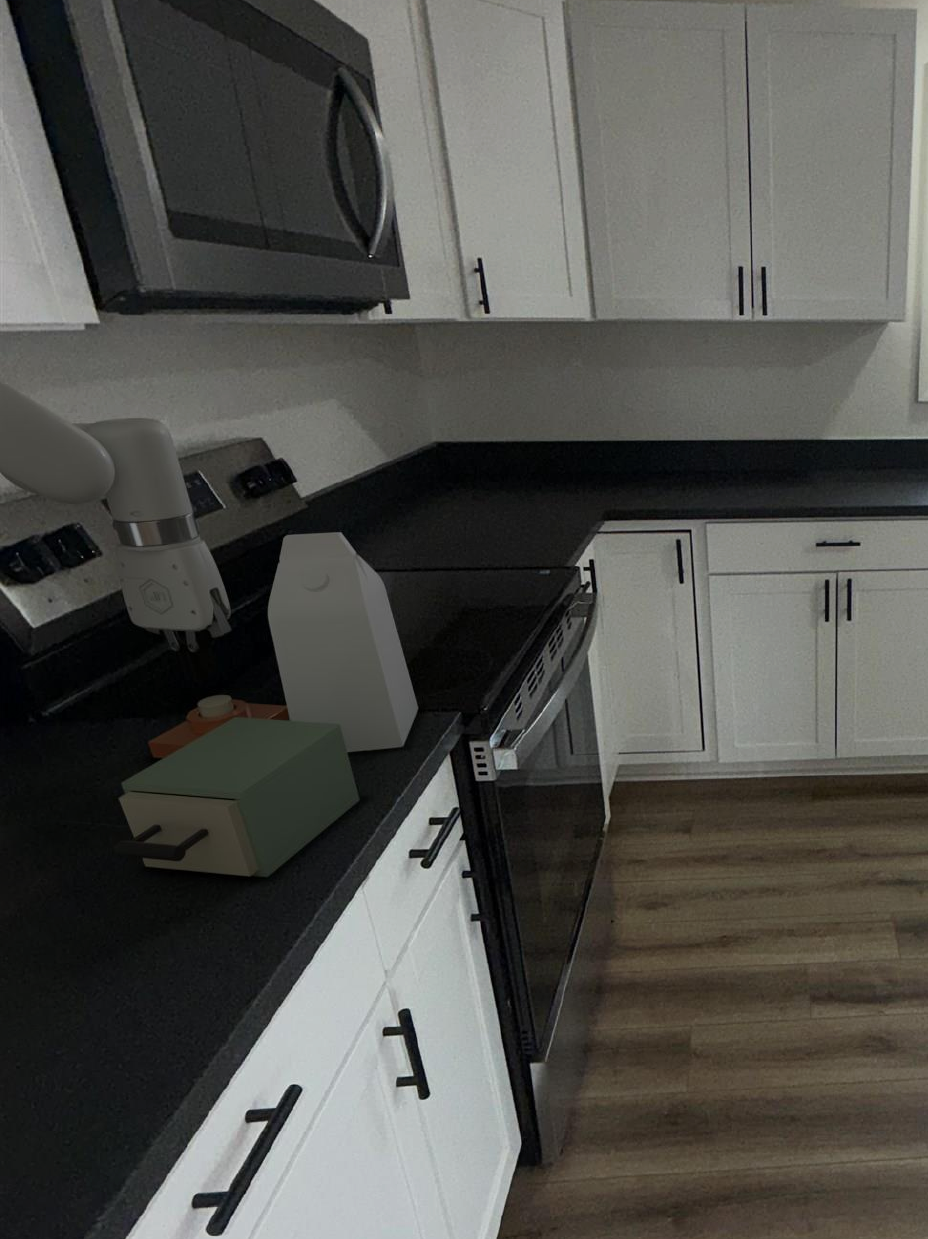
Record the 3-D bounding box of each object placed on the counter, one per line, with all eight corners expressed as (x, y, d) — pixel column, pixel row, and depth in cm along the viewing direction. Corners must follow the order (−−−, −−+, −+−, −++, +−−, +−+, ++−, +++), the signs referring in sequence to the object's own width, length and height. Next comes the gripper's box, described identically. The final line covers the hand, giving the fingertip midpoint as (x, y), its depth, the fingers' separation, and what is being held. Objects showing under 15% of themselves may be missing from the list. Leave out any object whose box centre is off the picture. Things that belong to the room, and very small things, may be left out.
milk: (418, 708, 121) (377, 521, 110) (402, 746, 111) (356, 543, 100) (322, 718, 118) (271, 526, 107) (298, 757, 108) (238, 550, 97)
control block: (226, 763, 107) (216, 734, 105) (153, 757, 108) (142, 728, 106) (293, 720, 118) (286, 693, 116) (226, 715, 119) (218, 688, 117)
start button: (220, 720, 109) (216, 707, 109) (194, 718, 110) (190, 705, 109) (241, 708, 113) (237, 695, 112) (216, 706, 113) (212, 693, 112)
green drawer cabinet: (267, 877, 86) (239, 792, 82) (152, 866, 87) (120, 782, 83) (359, 800, 99) (340, 723, 95) (258, 792, 101) (235, 716, 97)
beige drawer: (216, 904, 81) (190, 832, 77) (106, 893, 82) (76, 822, 79) (340, 803, 97) (323, 740, 93) (246, 796, 98) (226, 733, 95)
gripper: (71, 535, 99) (123, 685, 106) (190, 541, 97) (234, 694, 105) (129, 521, 106) (173, 663, 113) (241, 526, 104) (279, 670, 111)
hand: (202, 677), depth 109 cm, fingers closed
